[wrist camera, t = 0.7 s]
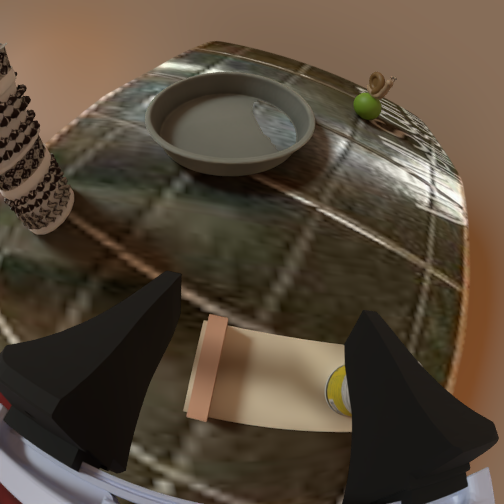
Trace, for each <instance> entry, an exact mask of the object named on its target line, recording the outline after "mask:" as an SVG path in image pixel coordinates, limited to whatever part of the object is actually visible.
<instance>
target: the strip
mask: <svg viewBox="0 0 504 504" xmlns="http://www.w3.org/2000/svg"><path fill="white" fill-rule="evenodd" d="M344 364H345V357H344V345H340V344H332V343H325V342H318V341H311V340H304V339H298V338H291V337H285V336H280V335H274V334H268V333H263V332H257V331H252V330H247V329H242V328H237V327H232V326H228V318H225V317H220V316H216V315H211V314H209V318H208V321H205V320H204V322H203V326H202V330H201V334H200V338H199V343H198V347H197V351H196V356H195V360H194V364H193V369H192V373H191V378H190V382H189V387H188V392H187V396H186V401H185V406H184V410H183V411H185V412H187V417H189V418H193V419H197V420H201V421H207V419H208V417H210V418H215V419H220V420H225V421H230V422H236V423H241V424H248V425H254V426H262V427H269V428H278V429H289V430H301V431H320V432H352V417H350V416H344V415H340V414H338V413H336V412H334V411H333V410H332V409H331V408H330V407H329V406H328V404H327V402H326V399H325V385H326V382H327V379H328V377H329V376H330V374H331V373H332V372H333V371H334V370H335V369H337V368H338V367H340V366H342V365H344Z"/></svg>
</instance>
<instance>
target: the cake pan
mask: <svg viewBox="0 0 504 504" xmlns="http://www.w3.org/2000/svg"><path fill="white" fill-rule="evenodd" d="M258 100H261V101H264V102H266V103H268V104H271V105H273V106H274V107H276V108H278V109H279V110H280V111H282V112H283V113H284V114H285V115H286V116H287V117H288V118H289V119H290V122H291V123H293V125H294V127H295V131H296V143H295V144H294V145H293V146H291V147H289V148H287V149H285V150H282V151H278V150H277V149H276V146H275V145H274V144H272V143H271V140H270V138H269V137H267V136H266V135H264V134H263V132H262V130H261V129H260V127H259V125H258V123H257V121H256V119H255V117H254V115H253V113H252V111H253V109H252V106H253V103H254V102H256V101H258ZM145 125H146V128H147V130H148V132H149V134H150V135H151V137H152V138H153V139H154V140H155V141H156V142H157V143H158V144H159V145H160V146H162V148H163V149H164V151H165V152H166V153H167V155H168V156H169V157H170V158H171V159H173V160H174V161H175V162H177V163H178V164H180V165H182V166H184V167H186V168H188V169H191V170H194V171H197V172H200V173H204V174H210V175H216V176H243V175H251V174H256V173H260V172H264V171H267V170H269V169H272V168H274V167H276V166H278V165H280V164H281V163H283V162H284V161H285V160H287V159H288V158H289V157H290V156H291V155H292V153H293V152H295V151H297V150H298V149H300V148H301V147H302V146H304V145H305V144H306V143H307V142H308V141H309V140H310V138H311V137H312V135H313V133H314V130H315V117H314V113H313V111H312V109H311V107H310V106H309V104H308V103H307V102H306V101H305V100H304V99H303V98H302V97H301V96H300V95H299V94H298V93H296V92H295V91H294V90H292V89H291V88H289V87H287V86H285V85H283V84H281V83H279V82H277V81H274V80H272V79H269V78H266V77H262V76H258V75H253V74H247V73H238V72H215V73H207V74H201V75H197V76H193V77H189V78H186V79H183V80H181V81H179V82H176V83H174V84H172V85H170V86H169V87H167V88H166V89H164V90H163V91H161V92H160V93H159V94H158V95H157V96H156V97H155V98H154V99H153V100H152V101H151V103H150V104H149V106H148V108H147V111H146V114H145Z"/></svg>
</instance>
